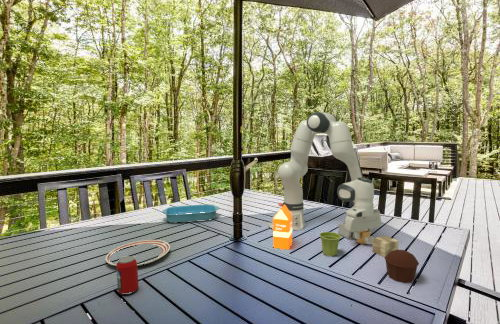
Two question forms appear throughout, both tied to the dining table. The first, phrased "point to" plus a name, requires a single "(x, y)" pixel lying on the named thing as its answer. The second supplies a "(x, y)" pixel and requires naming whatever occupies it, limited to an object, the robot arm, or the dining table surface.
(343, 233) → the outer sleeve
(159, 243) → the beige round ring
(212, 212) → the casserole dish
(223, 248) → the dining table surface
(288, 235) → the orange juice
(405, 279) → the muffin
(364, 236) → the tube
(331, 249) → the plant pot
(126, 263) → the beverage can
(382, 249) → the socket block
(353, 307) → the dining table surface
